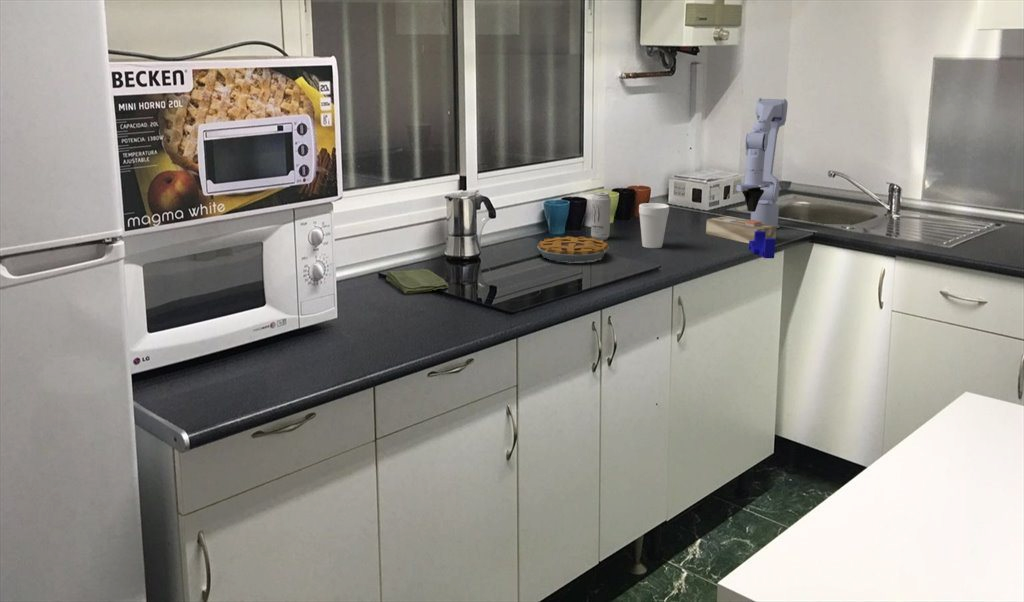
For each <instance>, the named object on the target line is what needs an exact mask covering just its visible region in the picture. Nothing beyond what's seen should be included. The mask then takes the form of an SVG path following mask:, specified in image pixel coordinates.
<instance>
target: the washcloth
mask: <svg viewBox="0 0 1024 602" xmlns="http://www.w3.org/2000/svg"><path fill="white" fill-rule="evenodd" d="M385 279H386V281H387V282H389V283H390V284H391V285H393V286H394V287H395V288H397V289H398V290H400V291H401V292H403V293H404V294H406V295H412V294H419V293H428V292H432V290H433V291H438V290H437V289H441V288H448V289H449V285H448V282H447V281H446V280H445V279H444V278H442V277H441V276H439V275H437V274H436V273H434V272H433V271H432V270H429V269H428V268H427V269H426V268H423V269H420V268H419V269H411V270H390V271H389V270H388V272H387V273H386V277H385Z"/></svg>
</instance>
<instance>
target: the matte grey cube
mask: <svg viewBox="0 0 1024 602" xmlns="http://www.w3.org/2000/svg"><path fill="white" fill-rule="evenodd" d="M723 221H728V222H733V221H737V220H734V219H723Z"/></svg>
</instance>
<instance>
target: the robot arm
mask: <svg viewBox="0 0 1024 602" xmlns="http://www.w3.org/2000/svg"><path fill="white" fill-rule="evenodd" d="M787 114H788V100H787V99H785V98H783V99H778V98H773V99H772V98H762V97H759V98H758V99H757V100H756V103H755V115H756V120H755V121H754V123H753V124H752V125H753V126H752V127H751V129H750V132H749V133H746V135H745V140H744V141H745V142H744V143H745V146H744V147H745V156H746V157H745V171H744V182H742V183H740V184H737V185H736V189H735V190H736V192H742V194H743V196H744V199H745V202H746V208H747V211H748V212H750V220H756V221H761V223H764V224H769V225H774V226H777V227H776V229H780V225H778V224H779V223H778V222H779V213H780V212H779V211H780V210H779V205H778V204H777V203H776V202H777V201H778V199H779V193H780V181H779V179H778V178H777V177H776V176H774V174H773V169H774V162H775V156H776V148H777V139H778V135H779V134H778V133H779V130H780V127H782V126H784V125H785V124H786V121H787Z"/></svg>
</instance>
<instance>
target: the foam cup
mask: <svg viewBox="0 0 1024 602" xmlns="http://www.w3.org/2000/svg"><path fill="white" fill-rule="evenodd" d="M638 213H639V223H640V235H641V236H640V237H641V244H642V247H644V248H647V249H659V248H662V247H663V243H664V238H665V232H666V228H667V227H666V225H667V222H668V216H669V213H670V205H668V204H666V203H659V202H648V203H647V202H646V203H645V202H644V203H640V204H639V205H638Z"/></svg>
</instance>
